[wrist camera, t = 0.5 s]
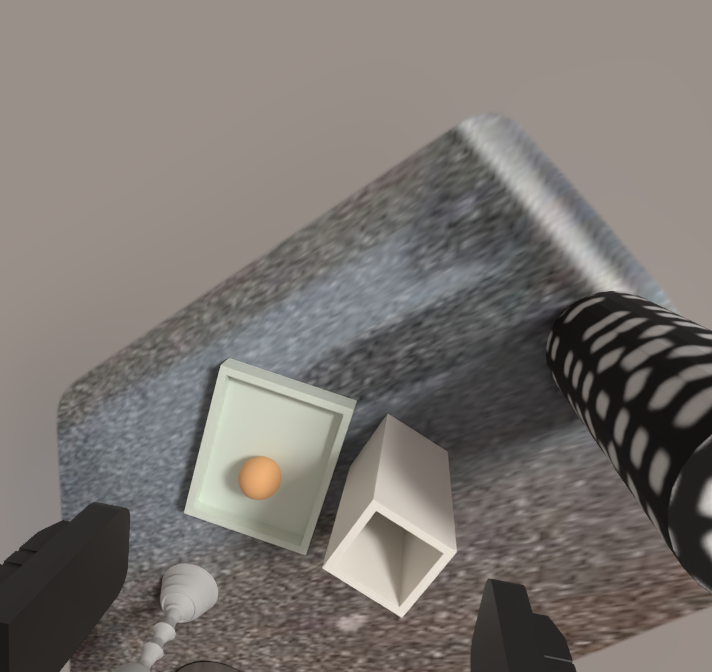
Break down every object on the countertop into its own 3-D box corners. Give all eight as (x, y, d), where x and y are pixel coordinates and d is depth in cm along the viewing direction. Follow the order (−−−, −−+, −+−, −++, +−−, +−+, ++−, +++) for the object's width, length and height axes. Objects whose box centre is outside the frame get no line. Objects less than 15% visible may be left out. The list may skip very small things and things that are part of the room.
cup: (408, 503, 43) (401, 617, 31) (349, 466, 42) (322, 567, 31) (447, 451, 41) (456, 552, 30) (387, 413, 41) (373, 499, 29)
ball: (270, 506, 39) (285, 463, 40) (228, 492, 39) (244, 449, 40) (274, 505, 42) (288, 465, 43) (235, 491, 42) (250, 451, 43)
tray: (310, 541, 45) (305, 555, 43) (193, 500, 45) (183, 513, 43) (356, 400, 41) (353, 409, 39) (229, 358, 41) (220, 365, 40)
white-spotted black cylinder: (688, 301, 36) (983, 422, 17) (652, 416, 39) (877, 636, 19) (561, 281, 37) (710, 376, 18) (533, 394, 39) (638, 588, 20)
